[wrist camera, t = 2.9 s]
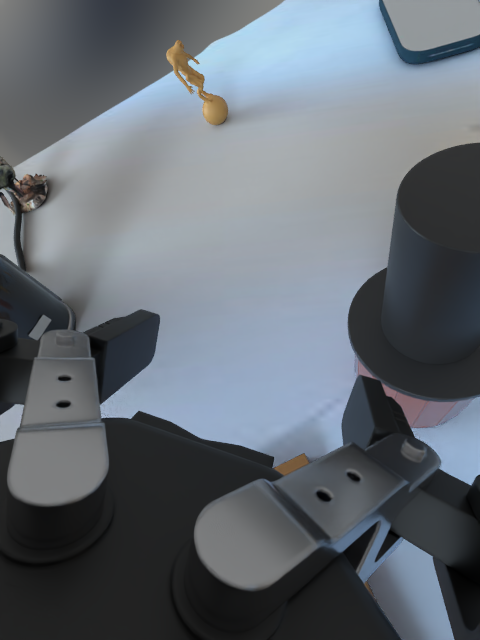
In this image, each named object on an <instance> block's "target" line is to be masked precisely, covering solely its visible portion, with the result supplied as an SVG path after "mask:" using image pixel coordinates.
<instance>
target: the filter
mask: <svg viewBox="0 0 480 640" xmlns="http://www.w3.org/2000/svg"><path fill="white" fill-rule="evenodd" d="M348 334H349V339H350V343H351V346H352V348H353V350H354V353H355V354H356V356H357V358H358V360H359V361H360V362H361V364H362V365H363V366H364V368H365V369H366V370H367V371H368V372H369V373H370V374H371V375H372V376H373V377H375V378H376V379H377V380H380V381H381V383H383V384H384V385H386V386H387V387H389V388H391V389H393V390H395V391H397V392H399V393H401V394H404V395H407V396H410V397H413V398H416V399H421V400H425V401H434V402H456V401H464V400H468V399H472V398H476V397H478V396H480V143H472V144H465V145H459V146H455V147H451V148H448V149H445V150H442V151H439V152H437V153H435V154H433V155H430V156H429V157H427V158H425V159H423V160H422V161H421V162H419V163H418V164H416V165H415V166H414V167H413V168H412V169H411V170H410V171H409V172H408V173H407V174H406V176H405V177H404V179H403V180H402V182H401V184H400V186H399V189H398V193H397V199H396V206H395V214H394V222H393V229H392V237H391V244H390V252H389V260H388V267H387V268H385V269H383V270H381V271H380V272H378V273H376V274H375V275H374V276H372V277H371V278H370V279H368V280H367V281H366V282H365V283H364V284H363V285H362V287H361V288H360V289H359V290H358V292H357V293H356V295H355V297H354V298H353V301H352V303H351V306H350V309H349V314H348Z"/></svg>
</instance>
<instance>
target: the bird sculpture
mask: <svg viewBox="0 0 480 640" xmlns="http://www.w3.org/2000/svg"><path fill="white" fill-rule="evenodd" d="M46 177H47V176H44V175H43V176H42V175H39V176H38V175H37V174H36V175H35V176H34V177H33V176H31V175H28V174H26V175H25V176H24V177H23V180H19V181H18V180H17V179H16V178H15V171H14V170H13V168H12V167H11V166H10V165H9V164H8V163H7V162H6V161H5V160H4V159H3V158H2V157H0V189H2V188H4V189H6V190H8V191H11V192H13V193H14V194H15V197H16V198H17V199H18V201H19V203H20V207H21V213H25V212H28V211H29V210H30V211H31V210H33V209H34V208H35V209H36V208H38V206H40V204H42V203H43V201H44V199H45V197H46V194H47V189H48V188H47V184H45V182H46V181H47V180H45V178H46ZM14 179H15V180H16V181H18V182H17V183H15V184H14V182H13V181H14ZM0 197H1V199H2V201H3V203H4V205H5V206H7V207H8V208H9V209H10V210H11V211H12V213H13V214H14V215H15V214H16V213H15V207H14V204H13V201H12V202H10V203H11V204H9V203H8V201H7V199H6V198H5V196H4V194H3V193H2V192H0ZM10 205H11V206H13V207H11V206H10Z"/></svg>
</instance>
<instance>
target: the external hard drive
mask: <svg viewBox="0 0 480 640" xmlns="http://www.w3.org/2000/svg"><path fill="white" fill-rule="evenodd" d="M379 6H380V10H381V12H382V15H383V17H384V20H385V22H386V25H387V27H388V30H389V32H390V35H391V37H392V39H393V42H394V44H395V47H396V49H397V52H398V54H399V56H400V58H401V59H402V60H403V61H405V62H407V63H411V64H420V63H426V62H430V61H434V60H438V59H441V58H445V57H448V56H452V55H456V54H459V53H463V52H466V51H470V50H473V49H476V48H478V47H480V1H479V0H379Z"/></svg>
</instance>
